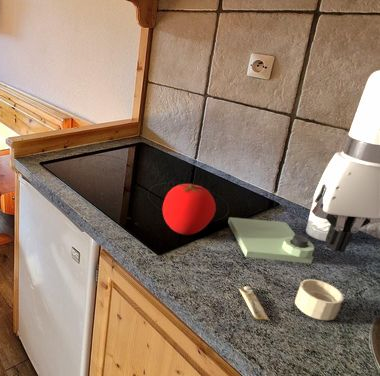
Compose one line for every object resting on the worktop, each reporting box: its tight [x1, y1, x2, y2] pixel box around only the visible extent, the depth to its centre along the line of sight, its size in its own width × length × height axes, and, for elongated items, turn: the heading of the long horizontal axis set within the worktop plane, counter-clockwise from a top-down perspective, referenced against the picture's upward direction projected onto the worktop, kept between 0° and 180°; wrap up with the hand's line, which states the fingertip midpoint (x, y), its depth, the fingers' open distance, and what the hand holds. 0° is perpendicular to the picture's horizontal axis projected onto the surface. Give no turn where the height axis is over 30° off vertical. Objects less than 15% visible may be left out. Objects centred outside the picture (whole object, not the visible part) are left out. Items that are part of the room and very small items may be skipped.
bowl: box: [294, 278, 345, 321], centre depth 76 cm, size 7×7×4 cm
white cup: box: [305, 199, 331, 242], centre depth 100 cm, size 8×8×10 cm
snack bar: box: [236, 285, 271, 323], centre depth 77 cm, size 10×2×3 cm
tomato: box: [162, 182, 217, 236], centre depth 100 cm, size 12×12×13 cm
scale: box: [227, 216, 315, 264], centre depth 98 cm, size 14×16×4 cm
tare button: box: [291, 234, 310, 248], centre depth 91 cm, size 3×3×2 cm
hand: (334, 247), depth 72 cm, fingers closed
